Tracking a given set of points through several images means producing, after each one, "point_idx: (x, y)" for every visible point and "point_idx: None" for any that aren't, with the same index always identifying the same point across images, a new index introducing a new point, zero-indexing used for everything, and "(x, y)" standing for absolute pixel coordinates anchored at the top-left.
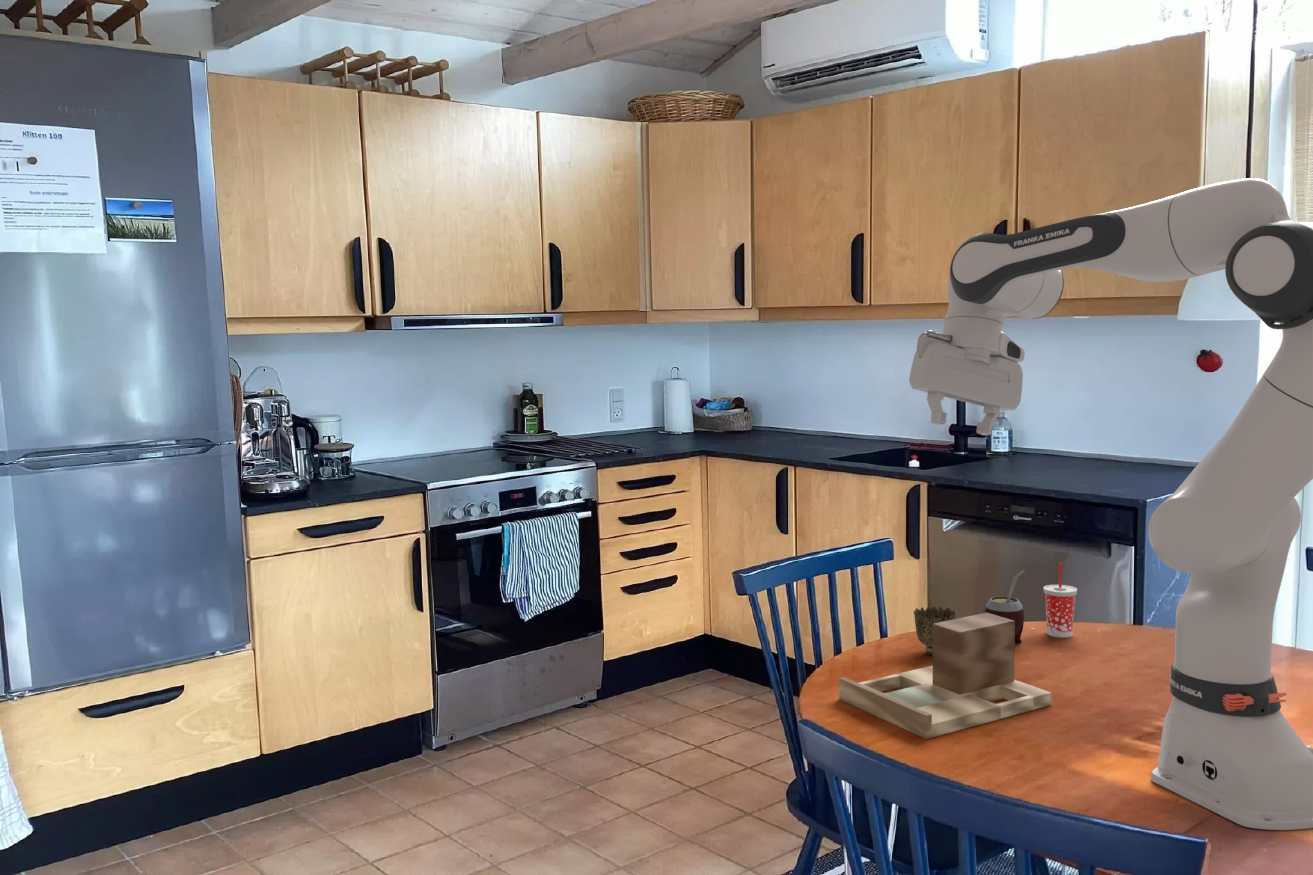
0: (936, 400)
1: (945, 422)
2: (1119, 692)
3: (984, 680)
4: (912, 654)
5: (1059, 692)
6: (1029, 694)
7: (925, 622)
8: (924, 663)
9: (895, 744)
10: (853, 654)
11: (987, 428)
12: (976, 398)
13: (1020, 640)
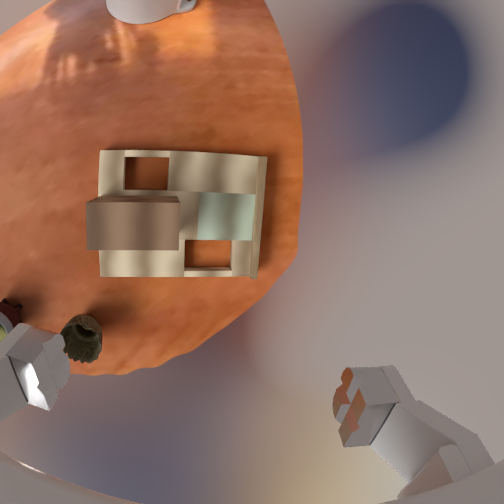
0: (467, 433)
1: (349, 369)
2: (29, 143)
3: (142, 196)
4: (107, 332)
5: (68, 172)
6: (121, 157)
7: (99, 335)
8: (114, 307)
9: (287, 166)
10: (156, 359)
11: (32, 338)
12: (105, 502)
13: (3, 300)
